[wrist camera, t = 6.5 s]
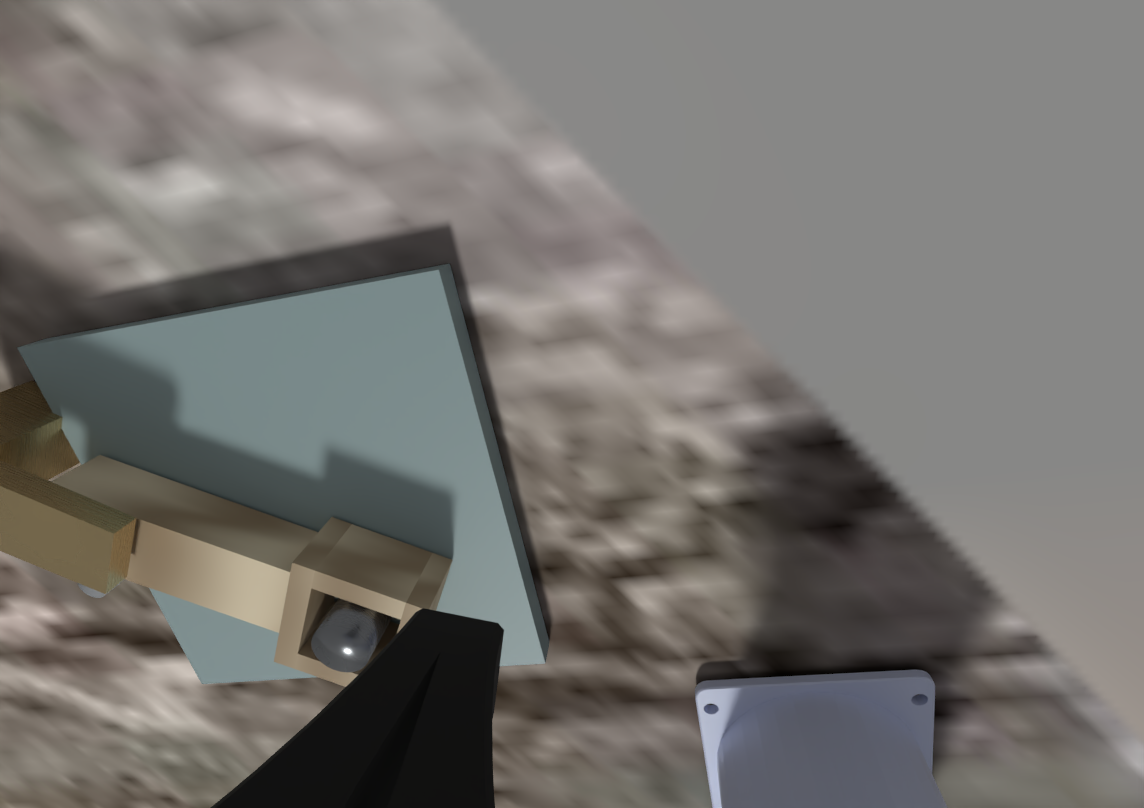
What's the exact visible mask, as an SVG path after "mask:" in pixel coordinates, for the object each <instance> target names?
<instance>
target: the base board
mask: <svg viewBox="0 0 1144 808" xmlns="http://www.w3.org/2000/svg"><path fill="white" fill-rule="evenodd" d="M17 348H18V350H19V352H20V354H21V356H22V357H23V359H24V361H25V363H26V365H27V367H28V368H29V370H30V372H31V374H32V376H33V377H34V379H35V381H36V383H37V385H38V387H39V388H40V390H41V392H42V394H43V396H44V397H45V399H46V401H47V403H48V405H49V407H50V408H51V410H52V412H53V413H54V414H57V415H59V416H61V417H63V418H62V430H63V432H64V434H65V436H66V438H67V439H68V441H69V443H70V445H71V447H72V448H73V450H74V452H75V454H76V456H77V458H78V459H79V461H80V463H81V465H82V464H84V463H86V462H88V461H90V460H91V459H93V458H95V457H97V456H99V455H102V456H105V457H108V458H110V459H113V460H116V461H119V462H122V463H124V464H127V465H130V466H133V467H136V468H139V469H141V470H144V471H147V472H150V473H153V474H155V475H158V476H161V477H164V478H167V479H170V480H172V481H175V482H178V483H181V484H184V485H186V486H189V487H192V488H195V489H198V490H201V491H203V492H206V493H209V494H212V495H215V496H217V497H220V498H223V499H226V500H229V501H231V502H234V503H237V504H240V505H243V506H246V507H248V508H251V509H254V510H257V511H260V512H262V513H265V514H268V515H271V516H274V517H277V518H279V519H282V520H285V521H288V522H291V523H293V524H296V525H299V526H302V527H305V528H308V529H310V530H313V531H316V532H319V531H320V530H321V529H322V528H323V526H324V525H325V524H326V523H327V522H328V521H329V519H330V518H331V517H334V518H336V519H339V520H342V521H345V522H348V523H350V524H353V525H356V526H359V527H362V528H364V529H367V530H370V531H373V532H376V533H378V534H381V535H384V536H387V537H390V538H393V539H395V540H398V541H401V542H404V543H407V544H409V545H412V546H415V547H418V548H421V549H423V550H426V551H429V552H432V553H435V554H437V555H440V556H443V557H446V558H449V559H452V563H451V567H450V570H449V573H448V576H447V579H446V582H445V585H444V588H443V591H442V594H441V597H440V600H439V603H438V606H437V609H436V611H440V612H445V613H450V614H455V615H460V616H465V617H470V618H475V619H481V620H486V621H491V622H496V623H499V625H500V626H501V627H502V628H503V629H504V635H503V643H502V651H501V659H500V666H511V665H527V664H544V663H545V662H546V657H547V652H548V647H549V639H548V635H547V631H546V627H545V624H544V620H543V616H542V612H541V608H540V605H539V601H538V597H537V593H536V589H535V586H534V582H533V578H532V574H531V570H530V567H529V563H528V559H527V555H526V551H525V548H524V544H523V540H522V536H521V532H520V529H519V525H518V521H517V517H516V513H515V510H514V506H513V502H512V498H511V494H510V491H509V487H508V483H507V479H506V475H505V472H504V468H503V464H502V460H501V456H500V453H499V449H498V445H497V441H496V437H495V433H494V430H493V426H492V422H491V418H490V414H489V411H488V407H487V403H486V399H485V395H484V392H483V388H482V384H481V380H480V376H479V373H478V369H477V365H476V361H475V357H474V354H473V350H472V346H471V342H470V338H469V335H468V331H467V327H466V323H465V319H464V316H463V312H462V308H461V304H460V300H459V297H458V293H457V289H456V285H455V281H454V278H453V274H452V270H451V266H450V264H444V265H439V266H434V267H428V268H423V269H418V270H412V271H407V272H401V273H396V274H391V275H385V276H380V277H375V278H369V279H364V280H358V281H353V282H348V283H342V284H337V285H331V286H326V287H321V288H315V289H310V290H305V291H299V292H294V293H288V294H283V295H278V296H272V297H267V298H262V299H256V300H251V301H245V302H240V303H235V304H229V305H224V306H219V307H213V308H208V309H202V310H197V311H192V312H186V313H181V314H176V315H170V316H165V317H159V318H154V319H149V320H143V321H138V322H133V323H127V324H122V325H116V326H111V327H106V328H100V329H95V330H89V331H84V332H79V333H73V334H68V335H63V336H57V337H52V338H46V339H43V340H40V341H37V342H33V343H30V344H27V345H24V346H20V347H17ZM121 582H122V581H121ZM121 582H120V583H121ZM120 583H119V584H120ZM78 586H79V587H80V589H81V590H82V591H83V592H85V593H86V594H87V595H89V596H92V597H96V598H100V597H103V596H105V595H106V594H104V593H101V592H99V591H96V590H94V589H91V588H89V587H87V586H84V585H82V584H79V583H78ZM116 586H117V585H116ZM116 586H115V587H116ZM115 587H114V588H115ZM149 589H150V590H151V592H152V594H153V596H154V598H155V600H156V601H157V603H158V605H159V607H160V609H161V610H162V612H163V614H164V616H165V618H166V620H167V621H168V623H169V625H170V627H171V629H172V630H173V632H174V634H175V636H176V638H177V640H178V641H179V643H180V645H181V647H182V649H183V650H184V652H185V654H186V656H187V658H188V660H189V661H190V663H191V665H192V667H193V669H194V671H195V672H196V674H197V676H198V678H199V680H200V681H201V683H202V684H210V683H227V682H243V681H260V680H277V679H293V678H310V677H316V676H313V675H311V674H308V673H305V672H302V671H299V670H296V669H293V668H290V667H288V666H285V665H282V664H279V663H276V662H274V657H275V652H276V647H277V641H278V636H279V633H277V632H275V631H272V630H269V629H266V628H263V627H260V626H257V625H255V624H252V623H249V622H246V621H243V620H240V619H237V618H234V617H232V616H229V615H226V614H223V613H220V612H217V611H214V610H212V609H209V608H206V607H203V606H200V605H197V604H194V603H192V602H189V601H186V600H183V599H180V598H177V597H174V596H172V595H169V594H166V593H163V592H160V591H157V590H154V589H151V588H149ZM111 590H112V589H111ZM111 590H110V591H111ZM110 591H109V592H110ZM338 599H339V598H337V597H335V600H334V602H336V601H337V600H338ZM400 621H401V620H400V619H397V618H394V617H392V619H391V622H394V623H396V624H400Z"/></svg>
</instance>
